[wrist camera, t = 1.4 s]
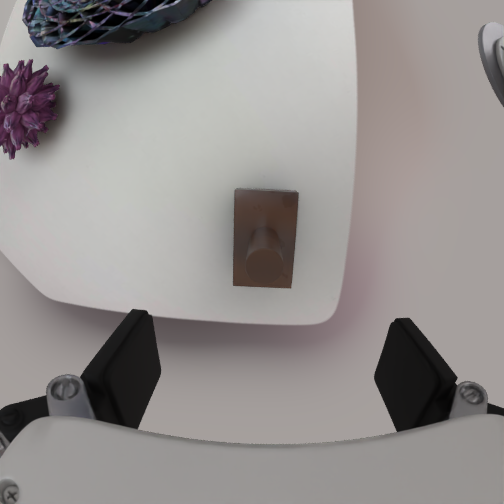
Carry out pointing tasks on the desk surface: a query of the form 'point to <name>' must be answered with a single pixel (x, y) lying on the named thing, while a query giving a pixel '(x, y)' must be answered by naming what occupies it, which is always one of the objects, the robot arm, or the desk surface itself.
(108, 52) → the desk surface
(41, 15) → the decorative bowl
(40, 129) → the flower
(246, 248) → the stamp
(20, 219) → the desk surface
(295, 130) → the desk surface
